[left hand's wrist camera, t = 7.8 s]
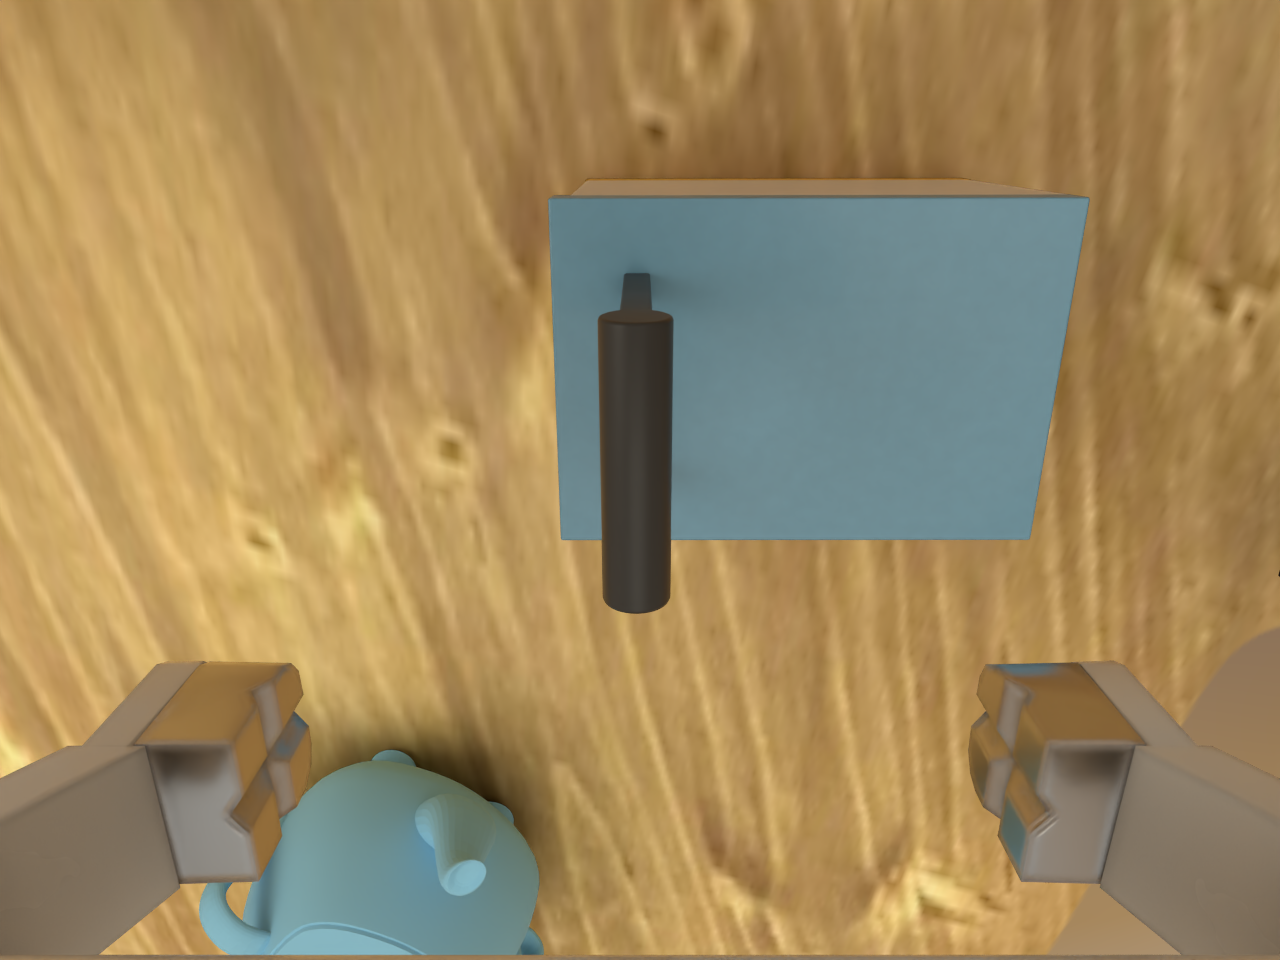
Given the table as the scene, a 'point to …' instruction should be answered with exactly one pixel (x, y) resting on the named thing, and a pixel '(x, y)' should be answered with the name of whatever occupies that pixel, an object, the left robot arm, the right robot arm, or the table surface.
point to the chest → (799, 187)
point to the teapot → (387, 872)
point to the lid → (803, 368)
